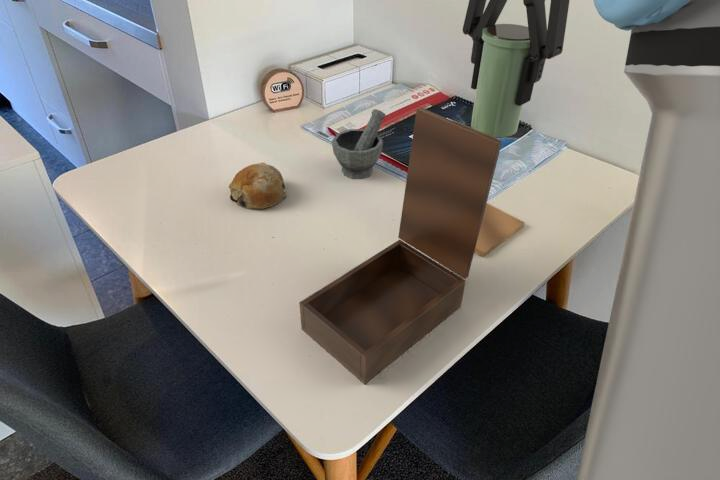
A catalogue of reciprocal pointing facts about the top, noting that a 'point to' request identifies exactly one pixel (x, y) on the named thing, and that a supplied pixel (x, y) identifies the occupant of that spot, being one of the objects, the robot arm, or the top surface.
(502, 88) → the green pot
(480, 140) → the bin lid
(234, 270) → the top surface
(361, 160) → the mortar and pestle
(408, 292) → the bin
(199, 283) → the top surface
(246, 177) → the bread roll
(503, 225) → the cork mat
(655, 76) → the robot arm
